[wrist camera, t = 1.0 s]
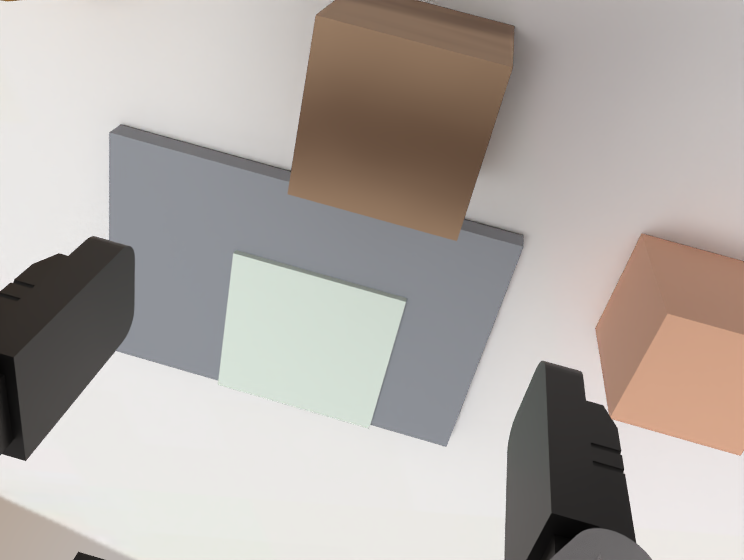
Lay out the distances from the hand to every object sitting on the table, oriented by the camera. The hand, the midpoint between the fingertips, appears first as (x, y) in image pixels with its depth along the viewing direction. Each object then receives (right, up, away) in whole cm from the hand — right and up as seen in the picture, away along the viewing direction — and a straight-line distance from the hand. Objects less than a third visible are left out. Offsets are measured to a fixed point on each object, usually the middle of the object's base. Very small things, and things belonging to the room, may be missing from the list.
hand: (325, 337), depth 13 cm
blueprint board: (-3, +1, +20) cm, 20 cm away
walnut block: (+3, +9, +14) cm, 16 cm away
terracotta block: (+14, 0, +16) cm, 21 cm away
